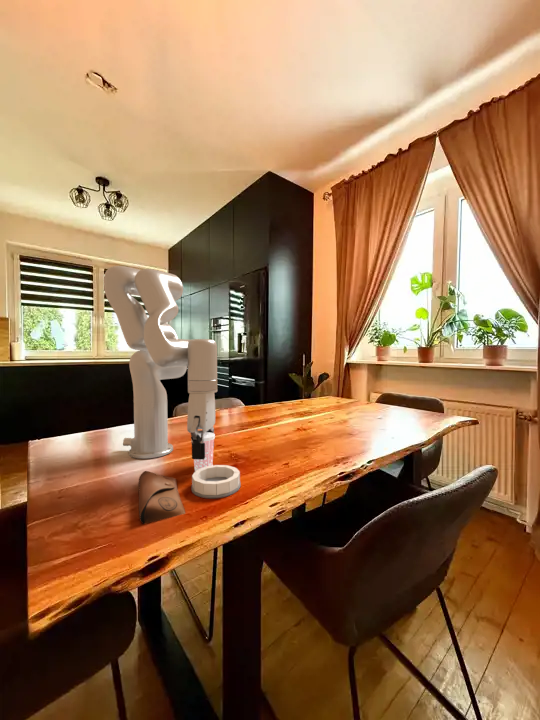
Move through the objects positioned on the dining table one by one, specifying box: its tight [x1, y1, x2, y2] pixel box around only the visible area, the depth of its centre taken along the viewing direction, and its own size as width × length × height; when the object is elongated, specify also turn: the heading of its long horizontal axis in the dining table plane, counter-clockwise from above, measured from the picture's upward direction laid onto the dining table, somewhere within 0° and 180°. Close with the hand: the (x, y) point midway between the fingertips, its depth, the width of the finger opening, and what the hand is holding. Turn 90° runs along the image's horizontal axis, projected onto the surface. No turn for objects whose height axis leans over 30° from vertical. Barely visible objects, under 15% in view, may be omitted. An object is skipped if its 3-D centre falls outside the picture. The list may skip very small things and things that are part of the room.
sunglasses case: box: [138, 470, 186, 525], centre depth 63 cm, size 18×7×7 cm
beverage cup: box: [190, 429, 216, 472], centre depth 79 cm, size 6×6×14 cm
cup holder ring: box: [191, 464, 241, 499], centre depth 68 cm, size 11×11×3 cm
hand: (203, 452), depth 79 cm, fingers open, 7 cm apart
